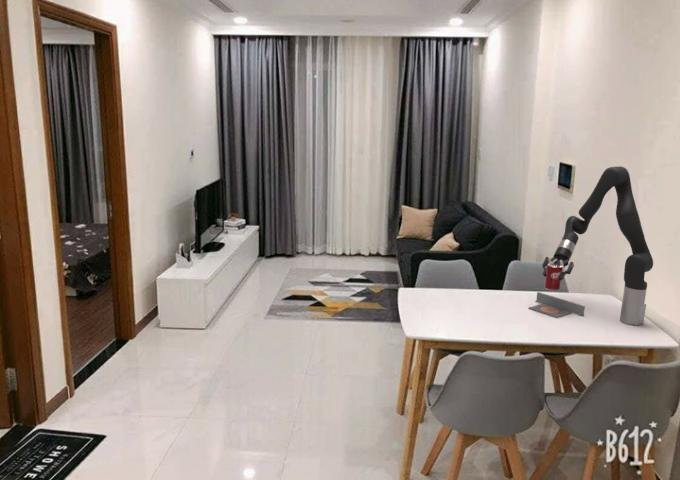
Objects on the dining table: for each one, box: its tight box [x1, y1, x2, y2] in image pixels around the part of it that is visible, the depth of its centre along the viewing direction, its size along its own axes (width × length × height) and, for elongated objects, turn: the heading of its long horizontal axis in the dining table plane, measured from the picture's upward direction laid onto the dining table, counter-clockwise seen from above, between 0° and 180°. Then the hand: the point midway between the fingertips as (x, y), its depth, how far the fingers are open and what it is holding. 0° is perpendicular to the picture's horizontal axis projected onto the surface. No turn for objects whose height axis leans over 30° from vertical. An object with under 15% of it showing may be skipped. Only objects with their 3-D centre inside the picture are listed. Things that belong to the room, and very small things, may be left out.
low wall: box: [535, 291, 586, 317], centre depth 279 cm, size 26×1×5 cm, turn 35°
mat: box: [528, 303, 572, 319], centre depth 275 cm, size 16×12×1 cm
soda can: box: [544, 263, 563, 292], centre depth 272 cm, size 7×7×12 cm
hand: (552, 277), depth 271 cm, fingers closed on soda can, 7 cm apart
